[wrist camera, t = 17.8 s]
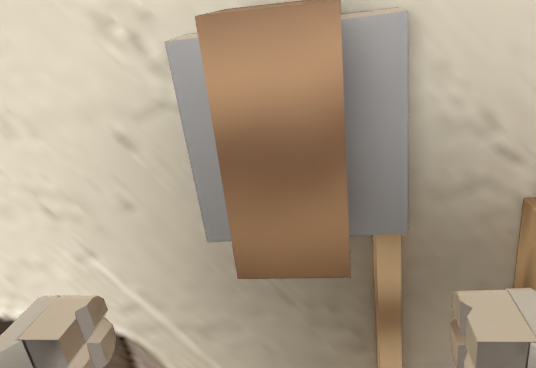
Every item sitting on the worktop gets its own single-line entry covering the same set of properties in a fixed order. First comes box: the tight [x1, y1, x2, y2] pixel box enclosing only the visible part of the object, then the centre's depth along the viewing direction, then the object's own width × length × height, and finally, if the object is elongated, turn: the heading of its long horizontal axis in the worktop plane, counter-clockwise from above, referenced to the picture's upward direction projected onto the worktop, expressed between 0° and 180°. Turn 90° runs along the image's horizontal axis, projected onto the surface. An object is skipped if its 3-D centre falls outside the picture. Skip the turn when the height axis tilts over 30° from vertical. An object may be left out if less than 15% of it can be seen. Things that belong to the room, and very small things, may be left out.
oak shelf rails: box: [373, 198, 536, 368], centre depth 24 cm, size 12×9×2 cm
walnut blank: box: [195, 0, 351, 279], centre depth 17 cm, size 10×4×4 cm, turn 6°
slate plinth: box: [165, 7, 408, 242], centre depth 21 cm, size 10×10×3 cm
